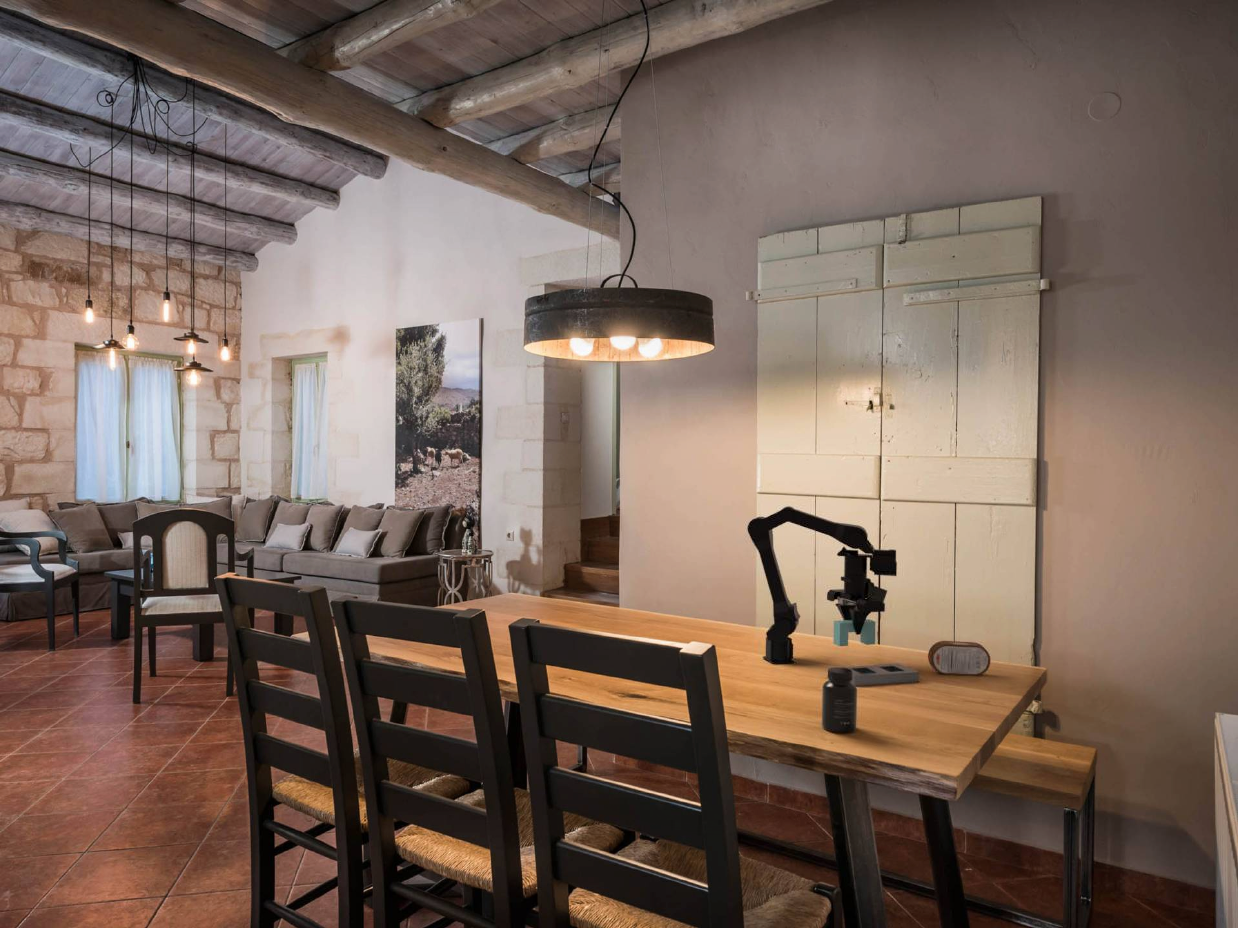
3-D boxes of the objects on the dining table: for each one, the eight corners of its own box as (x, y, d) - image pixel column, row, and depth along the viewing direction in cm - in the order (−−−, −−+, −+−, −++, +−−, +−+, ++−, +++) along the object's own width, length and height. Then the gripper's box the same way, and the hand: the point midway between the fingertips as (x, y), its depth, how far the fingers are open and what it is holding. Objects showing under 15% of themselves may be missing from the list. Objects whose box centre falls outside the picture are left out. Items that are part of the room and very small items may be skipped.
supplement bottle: (816, 723, 165) (818, 665, 165) (848, 722, 166) (850, 665, 166) (828, 734, 158) (829, 674, 158) (861, 734, 159) (863, 674, 159)
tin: (987, 674, 206) (988, 641, 206) (991, 677, 203) (992, 644, 203) (927, 671, 208) (927, 639, 208) (930, 674, 205) (931, 642, 204)
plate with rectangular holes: (854, 686, 193) (854, 676, 193) (836, 677, 200) (837, 667, 200) (918, 681, 197) (919, 671, 197) (899, 673, 205) (899, 663, 205)
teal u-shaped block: (839, 646, 206) (839, 623, 206) (833, 643, 209) (833, 620, 209) (875, 644, 209) (875, 621, 209) (868, 641, 212) (868, 619, 212)
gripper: (903, 578, 202) (902, 639, 203) (862, 568, 220) (861, 624, 221) (865, 579, 199) (864, 641, 200) (826, 569, 217) (825, 626, 217)
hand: (854, 633), depth 209 cm, fingers closed on teal u-shaped block, 3 cm apart
